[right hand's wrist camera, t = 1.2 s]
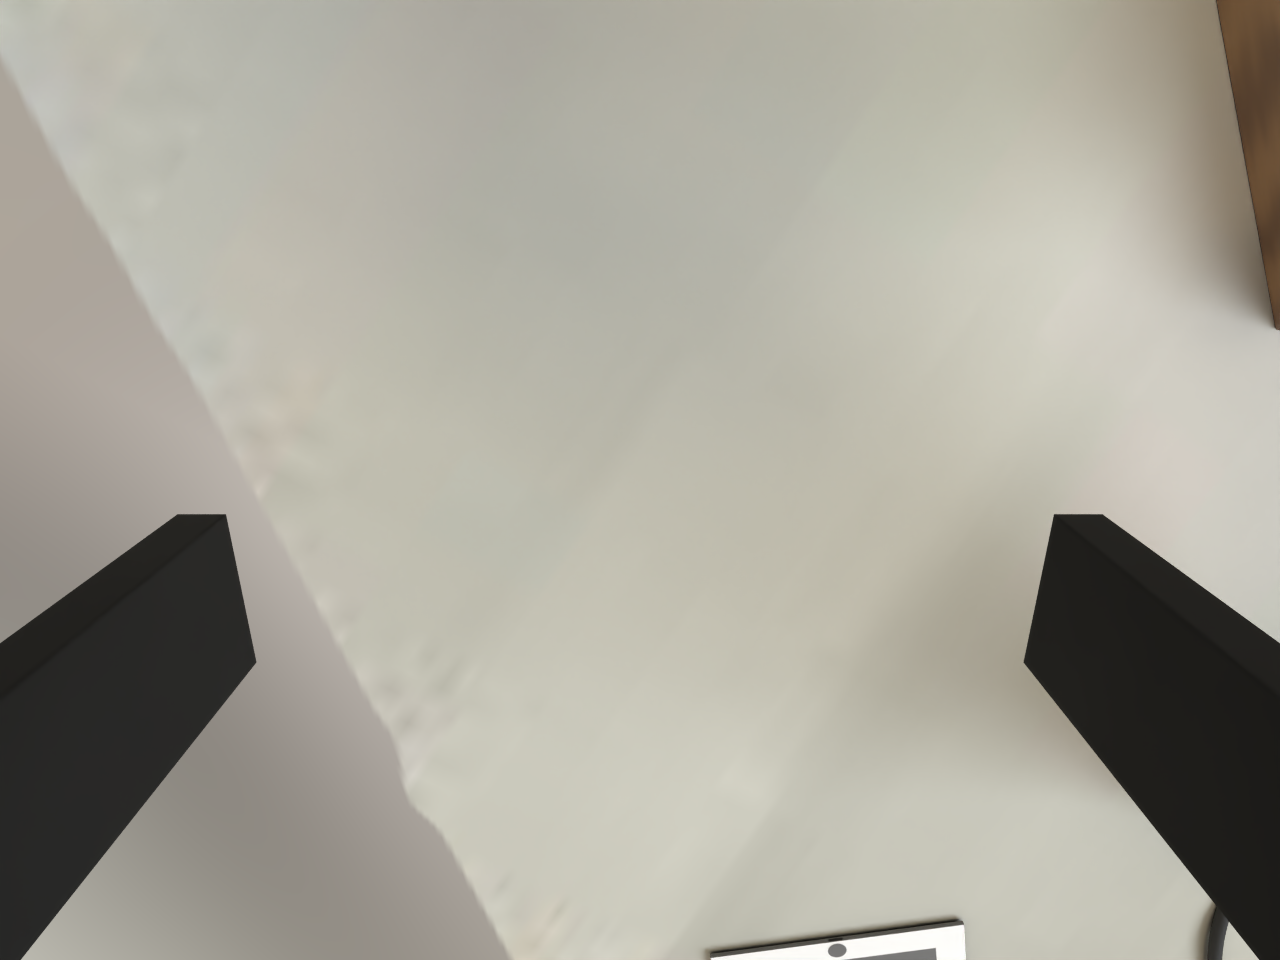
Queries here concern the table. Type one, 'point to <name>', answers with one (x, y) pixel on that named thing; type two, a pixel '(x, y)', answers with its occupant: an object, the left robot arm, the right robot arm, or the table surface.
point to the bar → (1258, 116)
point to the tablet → (868, 946)
